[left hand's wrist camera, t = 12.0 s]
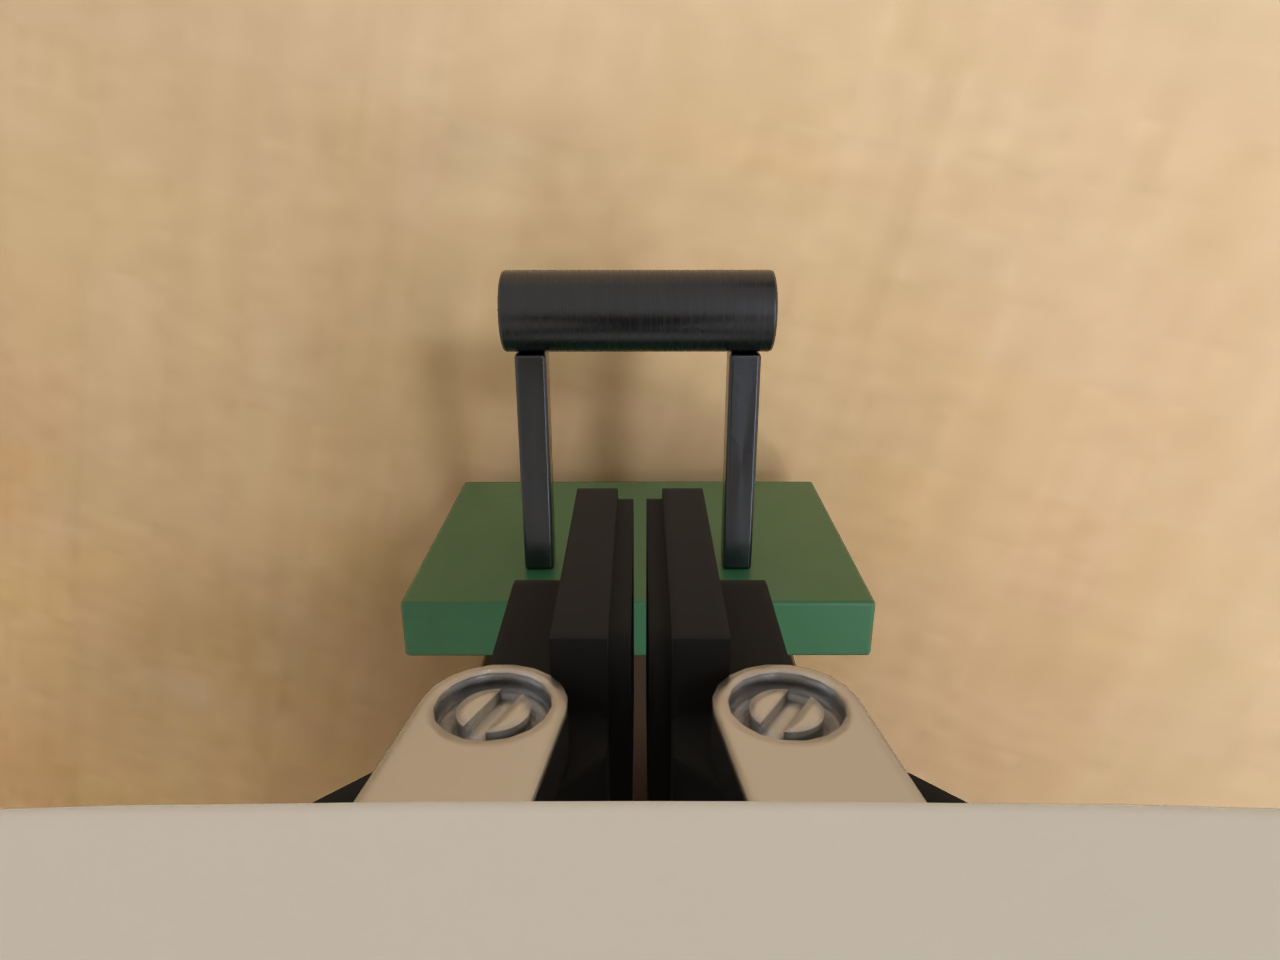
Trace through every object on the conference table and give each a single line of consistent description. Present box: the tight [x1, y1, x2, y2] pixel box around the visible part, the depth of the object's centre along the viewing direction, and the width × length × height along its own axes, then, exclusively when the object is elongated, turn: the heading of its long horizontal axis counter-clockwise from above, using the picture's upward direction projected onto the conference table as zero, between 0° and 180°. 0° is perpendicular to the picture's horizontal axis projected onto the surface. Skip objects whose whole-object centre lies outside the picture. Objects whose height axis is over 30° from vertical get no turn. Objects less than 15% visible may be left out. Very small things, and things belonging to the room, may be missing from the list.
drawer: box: [401, 270, 875, 801], centre depth 22 cm, size 21×9×7 cm, turn 0°
